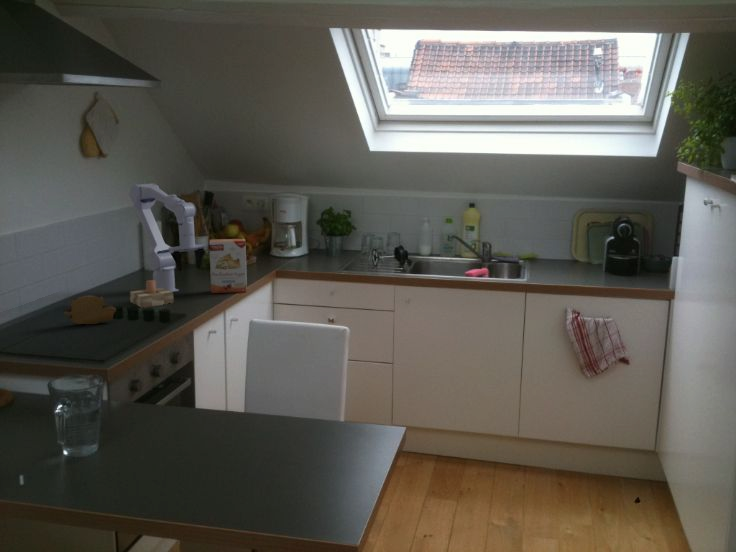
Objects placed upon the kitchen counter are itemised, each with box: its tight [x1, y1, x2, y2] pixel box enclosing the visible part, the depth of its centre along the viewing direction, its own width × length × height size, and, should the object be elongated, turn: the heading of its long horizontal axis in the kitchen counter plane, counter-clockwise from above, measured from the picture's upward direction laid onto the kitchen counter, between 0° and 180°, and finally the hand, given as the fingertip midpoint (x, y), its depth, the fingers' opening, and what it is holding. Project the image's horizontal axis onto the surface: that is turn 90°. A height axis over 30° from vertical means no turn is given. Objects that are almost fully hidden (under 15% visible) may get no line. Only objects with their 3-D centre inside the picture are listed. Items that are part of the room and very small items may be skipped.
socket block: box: [129, 287, 175, 309], centre depth 278 cm, size 12×12×4 cm
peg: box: [145, 279, 156, 294], centre depth 278 cm, size 3×3×8 cm
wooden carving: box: [63, 294, 117, 325], centre depth 247 cm, size 16×5×10 cm, turn 114°
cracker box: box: [208, 238, 248, 294], centre depth 295 cm, size 14×6×21 cm, turn 99°
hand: (189, 269), depth 287 cm, fingers open, 7 cm apart
